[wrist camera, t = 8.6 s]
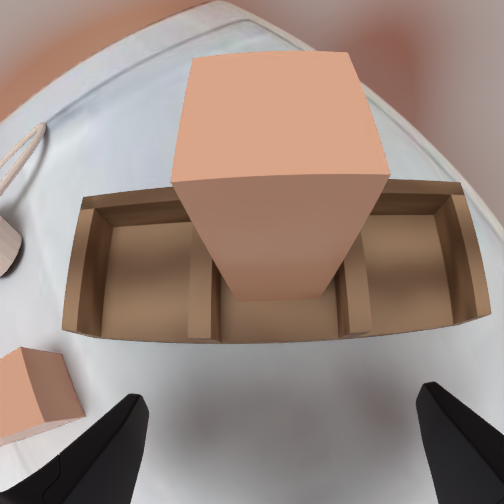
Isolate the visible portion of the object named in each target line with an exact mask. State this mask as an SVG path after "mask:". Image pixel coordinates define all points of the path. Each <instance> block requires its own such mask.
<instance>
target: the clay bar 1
mask: <svg viewBox="0 0 504 504" xmlns="http://www.w3.org/2000/svg"><path fill="white" fill-rule="evenodd" d="M83 417H85V414H84V412H83V409H82V407H81V405H80V402H79V400H78V397H77V395H76V392H75V390H74V387H73V384H72V382H71V379H70V376H69V373H68V371H67V368H66V365H65V362H64V359H63V356H62V354H58V353H52V352H46V351H40V350H34V349H29V348H24V347H19V348H18V349H16V350H14V351H13V352H11V353H9V354H8V355H6V356H4V357H3V358H1V359H0V446H3V445H6V444H9V443H12V442H15V441H19V440H22V439H25V438H28V437H31V436H34V435H37V434H39V433H42V432H45V431H48V430H51V429H54V428H56V427H59V426H62V425H65V424H67V423H70V422H72V421H75V420H78V419H80V418H83Z"/></svg>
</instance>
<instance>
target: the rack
mask: <svg viewBox="0 0 504 504" xmlns="http://www.w3.org/2000/svg"><path fill="white" fill-rule="evenodd" d="M490 314H491V307H490V300H489V294H488V288H487V282H486V277H485V272H484V267H483V262H482V257H481V253H480V248H479V244H478V240H477V236H476V232H475V229H474V225H473V221H472V218H471V214H470V211H469V208H468V204H467V201H466V198H465V195H464V192H463V189H462V186H461V183H460V182H444V181H425V180H399V179H388V181H387V183H386V185H385V186H384V188H383V190H382V192H381V194H380V196H379V198H378V200H377V202H376V203H375V205H374V207H373V209H372V211H371V213H370V214H369V216H368V218H367V220H366V222H365V223H364V225H363V227H362V229H361V231H360V232H359V234H358V236H357V238H356V239H355V241H354V243H353V244H352V246H351V248H350V250H349V251H348V253H347V255H346V256H345V258H344V260H343V262H342V263H341V265H340V267H339V268H338V270H337V271H336V273H335V275H334V276H333V278H332V280H331V281H330V283H329V285H328V286H327V288H326V289H325V291H324V293H323V294H322V296H321V297H320V298H319V299H299V300H274V301H241V302H237V300H236V299H235V297H234V295H233V294H232V292H231V290H230V288H229V287H228V285H227V283H226V281H225V280H224V278H223V276H222V274H221V273H220V271H219V269H218V267H217V266H216V264H215V262H214V260H213V259H212V257H211V255H210V253H209V252H208V250H207V248H206V246H205V244H204V243H203V241H202V239H201V237H200V235H199V234H198V232H197V230H196V228H195V226H194V225H193V223H192V221H191V219H190V217H189V215H188V214H187V212H186V210H185V208H184V206H183V204H182V203H181V201H180V199H179V197H178V195H177V193H176V191H175V190H174V188H173V187H165V188H155V189H145V190H136V191H127V192H119V193H111V194H103V195H96V196H89V197H83V200H82V204H81V209H80V213H79V217H78V222H77V226H76V231H75V236H74V241H73V247H72V252H71V258H70V264H69V270H68V277H67V284H66V291H65V300H64V309H63V319H62V330H65V331H69V332H72V333H76V334H80V335H85V336H89V337H93V338H102V339H114V340H127V341H143V342H163V343H195V344H256V343H288V342H308V341H325V340H338V339H351V338H362V337H372V336H382V335H391V334H399V333H407V332H415V331H422V330H429V329H436V328H442V327H449V326H455V325H460V324H463V323H466V322H469V321H472V320H475V319H478V318H481V317H484V316H487V315H490Z"/></svg>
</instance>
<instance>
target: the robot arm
mask: <svg viewBox="0 0 504 504" xmlns="http://www.w3.org/2000/svg"><path fill="white" fill-rule="evenodd" d="M416 409H417V414H418V419H419V424H420V430H421V436H422V441H423V445H424V449H425V453H426V456H427V460H428V464H429V467H430V471H431V475H432V479H433V483H434V487H435V491H436V495H437V499H438V504H504V435H503V434H502V433H500V432H499V431H498V430H497V429H495V428H494V427H493V426H492V425H490V424H489V423H488V422H486V421H485V420H484V419H483V418H481V417H480V416H479V415H477V414H476V413H475V412H474V411H472V410H471V409H470V408H468V407H467V406H466V405H465V404H463V403H462V402H461V401H459V400H458V399H457V398H456V397H454V396H453V395H452V394H450V393H449V392H448V391H447V390H445V389H444V388H443V387H441V386H440V385H439V384H438V383H436V382H428V383H424V384H423V385H422V387H421V389H420V392H419V394H418V397H417V399H416ZM148 419H149V410H148V408H147V406H146V403H145V401H144V399H143V397H142V396H141V395H140V394H128V395H127V396H126V397H125V398H123V399H122V400H121V401H120V402H119V403H118V404H117V405H115V406H114V407H113V408H112V409H111V410H110V411H109V412H107V413H106V414H105V415H104V416H103V417H102V418H100V419H99V420H98V421H97V422H96V423H95V424H93V425H92V426H91V427H90V428H89V429H88V430H87V431H85V432H84V433H83V434H82V435H81V436H79V437H78V438H77V439H76V440H75V441H74V442H72V443H71V444H70V445H69V446H68V447H67V448H65V449H64V450H63V451H62V452H61V453H60V455H57V456H56V457H55V458H53V459H52V460H51V461H50V462H48V463H47V464H46V465H45V466H43V467H42V468H41V469H39V470H38V471H36V472H35V473H33V474H32V475H30V476H29V477H27V478H26V479H24V480H23V481H21V482H19V483H18V484H16V485H15V486H13V487H11V488H10V489H8V490H6V491H4V492H0V504H130V503H131V499H132V495H133V491H134V487H135V483H136V480H137V476H138V472H139V468H140V465H141V461H142V457H143V452H144V446H145V439H146V432H147V426H148Z"/></svg>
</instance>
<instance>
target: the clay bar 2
mask: <svg viewBox="0 0 504 504" xmlns="http://www.w3.org/2000/svg"><path fill="white" fill-rule="evenodd" d="M390 175H391V174H390V171H389V167H388V163H387V160H386V157H385V153H384V150H383V147H382V143H381V140H380V137H379V134H378V131H377V128H376V125H375V122H374V119H373V116H372V113H371V110H370V108H369V105H368V102H367V99H366V97H365V94H364V92H363V89H362V86H361V84H360V81H359V79H358V76H357V74H356V71H355V69H354V67H353V65H352V62H351V60H350V57H349V55H348V53H344V52H325V51H266V52H248V53H235V54H224V55H215V56H206V57H199V58H193V61H192V65H191V70H190V74H189V79H188V84H187V89H186V94H185V99H184V104H183V109H182V114H181V120H180V125H179V131H178V137H177V143H176V149H175V156H174V162H173V169H172V176H171V184H172V186H173V188H174V190H175V191H176V193H177V195H178V197H179V199H180V201H181V203H182V204H183V206H184V208H185V210H186V212H187V214H188V215H189V217H190V219H191V221H192V223H193V225H194V226H195V228H196V230H197V232H198V234H199V235H200V237H201V239H202V241H203V243H204V244H205V246H206V248H207V250H208V252H209V253H210V255H211V257H212V259H213V260H214V262H215V264H216V266H217V267H218V269H219V271H220V273H221V274H222V276H223V278H224V280H225V281H226V283H227V285H228V287H229V288H230V290H231V292H232V294H233V295H234V297H235V299H236V300H237V302H241V301H274V300H299V299H319V298H320V297H321V296H322V294H323V293H324V291H325V289H326V288H327V286H328V285H329V283H330V281H331V280H332V278H333V276H334V275H335V273H336V271H337V270H338V268H339V267H340V265H341V263H342V262H343V260H344V258H345V256H346V255H347V253H348V251H349V250H350V248H351V246H352V244H353V243H354V241H355V239H356V238H357V236H358V234H359V232H360V231H361V229H362V227H363V225H364V223H365V222H366V220H367V218H368V216H369V214H370V213H371V211H372V209H373V207H374V205H375V203H376V202H377V200H378V198H379V196H380V194H381V192H382V190H383V188H384V186H385V185H386V183H387V181H388V179H389V177H390Z"/></svg>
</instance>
